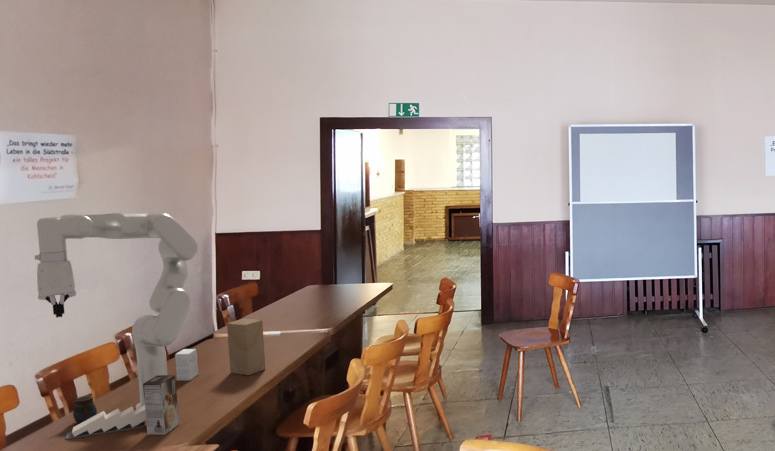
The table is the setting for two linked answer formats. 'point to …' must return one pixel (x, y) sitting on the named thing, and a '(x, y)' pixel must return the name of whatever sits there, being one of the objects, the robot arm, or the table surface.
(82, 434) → the mat
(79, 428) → the domino
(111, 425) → the domino
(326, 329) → the table surface
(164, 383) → the coffee box
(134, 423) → the domino
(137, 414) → the domino
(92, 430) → the domino
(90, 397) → the mate gourd
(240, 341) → the wooden block
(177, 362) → the small box
